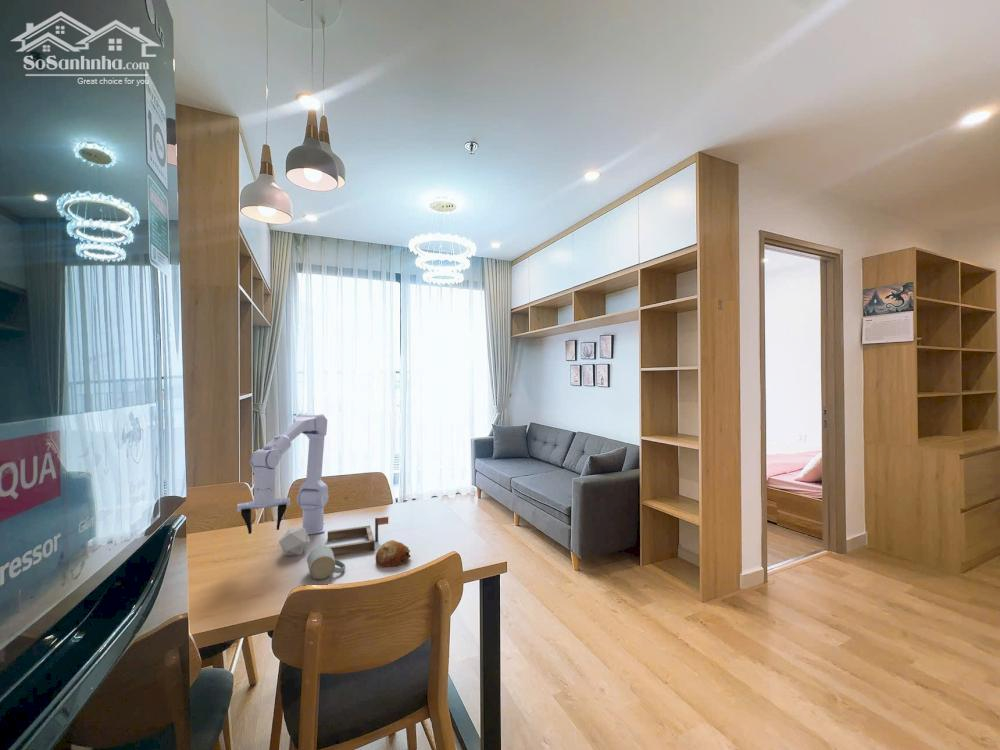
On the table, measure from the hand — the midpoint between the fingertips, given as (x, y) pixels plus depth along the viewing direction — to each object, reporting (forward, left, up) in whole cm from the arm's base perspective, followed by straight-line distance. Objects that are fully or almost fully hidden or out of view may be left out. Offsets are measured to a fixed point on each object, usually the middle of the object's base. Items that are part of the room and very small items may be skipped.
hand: (264, 530), depth 132 cm
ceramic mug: (+16, +18, -10) cm, 26 cm away
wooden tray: (-3, +29, -9) cm, 30 cm away
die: (-3, +9, -10) cm, 13 cm away
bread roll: (+15, +38, -10) cm, 42 cm away
